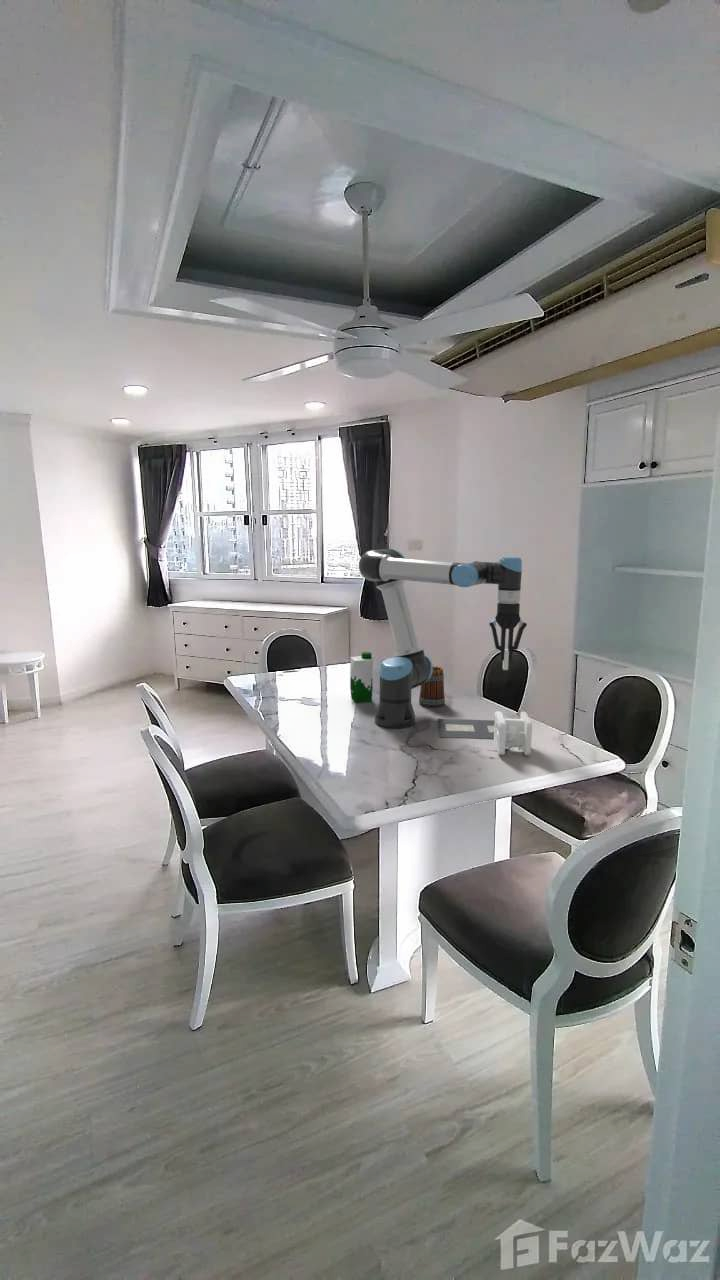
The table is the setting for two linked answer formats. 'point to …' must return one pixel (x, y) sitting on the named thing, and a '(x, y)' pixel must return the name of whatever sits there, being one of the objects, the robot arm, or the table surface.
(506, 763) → the table surface
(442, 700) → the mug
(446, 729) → the panel
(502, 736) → the cable organizer
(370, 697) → the milk carton
